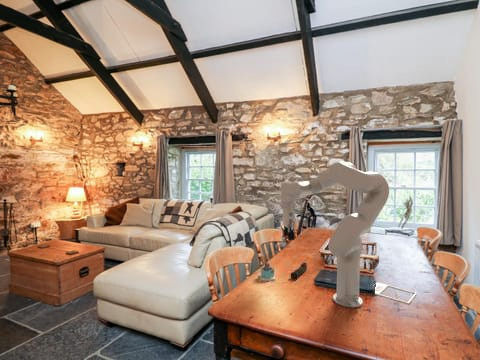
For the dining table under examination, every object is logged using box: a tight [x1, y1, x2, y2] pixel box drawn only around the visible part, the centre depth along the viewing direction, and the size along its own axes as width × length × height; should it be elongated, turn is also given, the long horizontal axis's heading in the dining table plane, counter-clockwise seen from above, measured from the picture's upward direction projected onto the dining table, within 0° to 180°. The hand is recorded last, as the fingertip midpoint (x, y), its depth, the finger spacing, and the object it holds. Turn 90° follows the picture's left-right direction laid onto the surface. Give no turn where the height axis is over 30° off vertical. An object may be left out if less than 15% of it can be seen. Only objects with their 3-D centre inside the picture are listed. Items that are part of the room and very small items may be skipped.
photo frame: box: [374, 281, 418, 305], centre depth 138 cm, size 15×1×18 cm
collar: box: [260, 266, 275, 279], centre depth 156 cm, size 7×7×4 cm
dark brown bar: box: [290, 262, 308, 280], centre depth 162 cm, size 19×4×5 cm, turn 144°
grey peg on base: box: [258, 262, 276, 282], centre depth 156 cm, size 8×8×8 cm
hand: (289, 237), depth 151 cm, fingers open, 9 cm apart
